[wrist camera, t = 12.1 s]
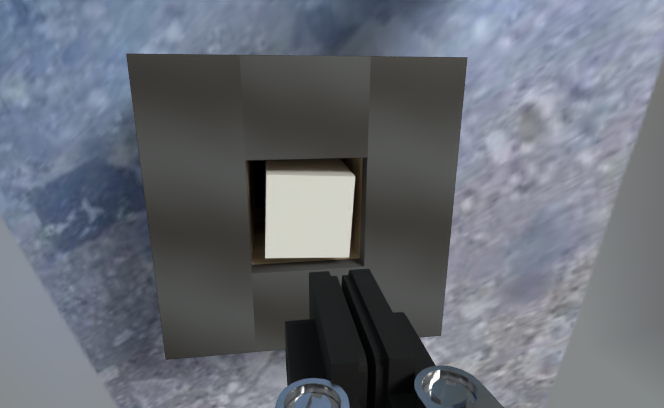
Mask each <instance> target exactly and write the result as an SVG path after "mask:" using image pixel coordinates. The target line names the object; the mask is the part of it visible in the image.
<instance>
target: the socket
mask: <svg viewBox="0 0 664 408" xmlns="http://www.w3.org/2000/svg"><path fill="white" fill-rule="evenodd" d="M126 55H127V63H128V71H129V79H130V86H131V94H132V102H133V110H134V117H135V125H136V133H137V141H138V148H139V156H140V164H141V172H142V179H143V187H144V195H145V203H146V210H147V218H148V226H149V233H150V241H151V249H152V257H153V264H154V272H155V280H156V288H157V295H158V303H159V311H160V319H161V326H162V334H163V342H164V350H165V357H166V360H169V359H180V358H192V357H203V356H214V355H226V354H237V353H248V352H260V351H271V350H283V349H286V348H285V321H292V320H304V319H309V272H322V271H329V272H330V275H331V276H337V277H338V280H339V283H340V285H341V283H342V275H348V273H349V270H353V269H370V271H371V273H372V275H373V276H374V278H375V280H376V282H377V284H378V286H379V288H380V290H381V291H382V293H383V295H384V297H385V299H386V301H387V303H388V304H389V306H390V308H391V310H392V312H404V313H405V315H406V316H407V318H408V319H409V321H410V323H411V325H412V326H413V328H414V330H415V331H416V333H417V335H418V336H419V337H430V336H441V330H442V319H443V309H444V298H445V288H446V277H447V267H448V256H449V245H450V235H451V224H452V214H453V203H454V193H455V182H456V171H457V161H458V150H459V140H460V129H461V119H462V108H463V98H464V87H465V76H466V66H467V57H382V56H291V55H200V54H126ZM323 158H340V159H341V161H342V162H343V163H344V164H345V165H346V166H347V168H348V169H349V170H350V171H351V172H352V173H353V174H354V176H355V187H354V201H353V214H352V227H351V240H350V253H349V257H343V258H265V208H255V192H254V172H253V160H281V159H323Z"/></svg>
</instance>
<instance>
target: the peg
mask: <svg viewBox="0 0 664 408" xmlns="http://www.w3.org/2000/svg"><path fill="white" fill-rule="evenodd" d="M354 187H355V176H354V174H353V173H352V172H351V171H350V170H349V169H348V168H347V166H346V165H345V164H344V163H343V162H342V161H341V159H340V158H323V159H281V160H265V196H264V199H265V258H343V257H349V253H350V240H351V227H352V214H353V201H354Z"/></svg>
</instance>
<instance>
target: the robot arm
mask: <svg viewBox="0 0 664 408" xmlns="http://www.w3.org/2000/svg"><path fill="white" fill-rule="evenodd" d="M285 348H286V370H287V385H288V386H287V387H286V388H285V389H284V390H283V391H282V392H281V393H280V394H279V396H278V399H277V402H276V406H275V408H504V407H503V406H502V405H501V404H500V403H499V402H498V401H497V400H496V399H495V398H494V396H493V395H492V394H491V393H490V392H489V391H488V390H487V389H486V388H485V387H484V386H483V385H482V383H481V382H480V381H479V380H477V379H476V378H475V377H474V376H473V375H471V374H469V373H467V372H466V371H464V370H461V369H458V368H455V367H451V366H442V365H441V366H435V364H434V362H433V360H432V359H431V357H430V355H429V354H428V352H427V350H426V348H425V347H424V345H423V343H422V342H421V340H420V338H419V336H418V335H417V333H416V331H415V330H414V328H413V326H412V325H411V323H410V321H409V319H408V318H407V316H406V315H405V313H404V312H392V310H391V308H390V306H389V304H388V303H387V301H386V299H385V297H384V295H383V293H382V291H381V290H380V288H379V286H378V284H377V282H376V280H375V278H374V276H373V275H372V273H371V271H370V269H353V270H349V273H348V275H342V283H341V285H340V283H339V280H338V277H337V276H331V275H330V272H329V271H322V272H309V319H304V320H292V321H285Z"/></svg>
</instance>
